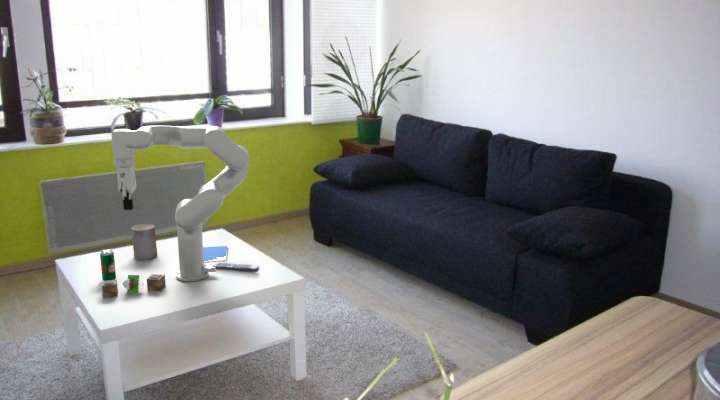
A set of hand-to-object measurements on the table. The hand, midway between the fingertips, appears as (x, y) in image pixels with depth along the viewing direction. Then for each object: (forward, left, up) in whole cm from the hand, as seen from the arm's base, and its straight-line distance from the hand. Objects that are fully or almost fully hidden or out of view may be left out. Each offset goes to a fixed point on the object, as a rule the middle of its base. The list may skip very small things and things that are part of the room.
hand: (128, 209), depth 246 cm
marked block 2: (-10, +10, -29) cm, 32 cm away
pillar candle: (+1, -29, -29) cm, 41 cm away
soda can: (+10, -2, -29) cm, 31 cm away
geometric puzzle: (-2, +12, -29) cm, 32 cm away
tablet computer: (-28, -28, -30) cm, 50 cm away
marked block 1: (+6, +14, -29) cm, 33 cm away
